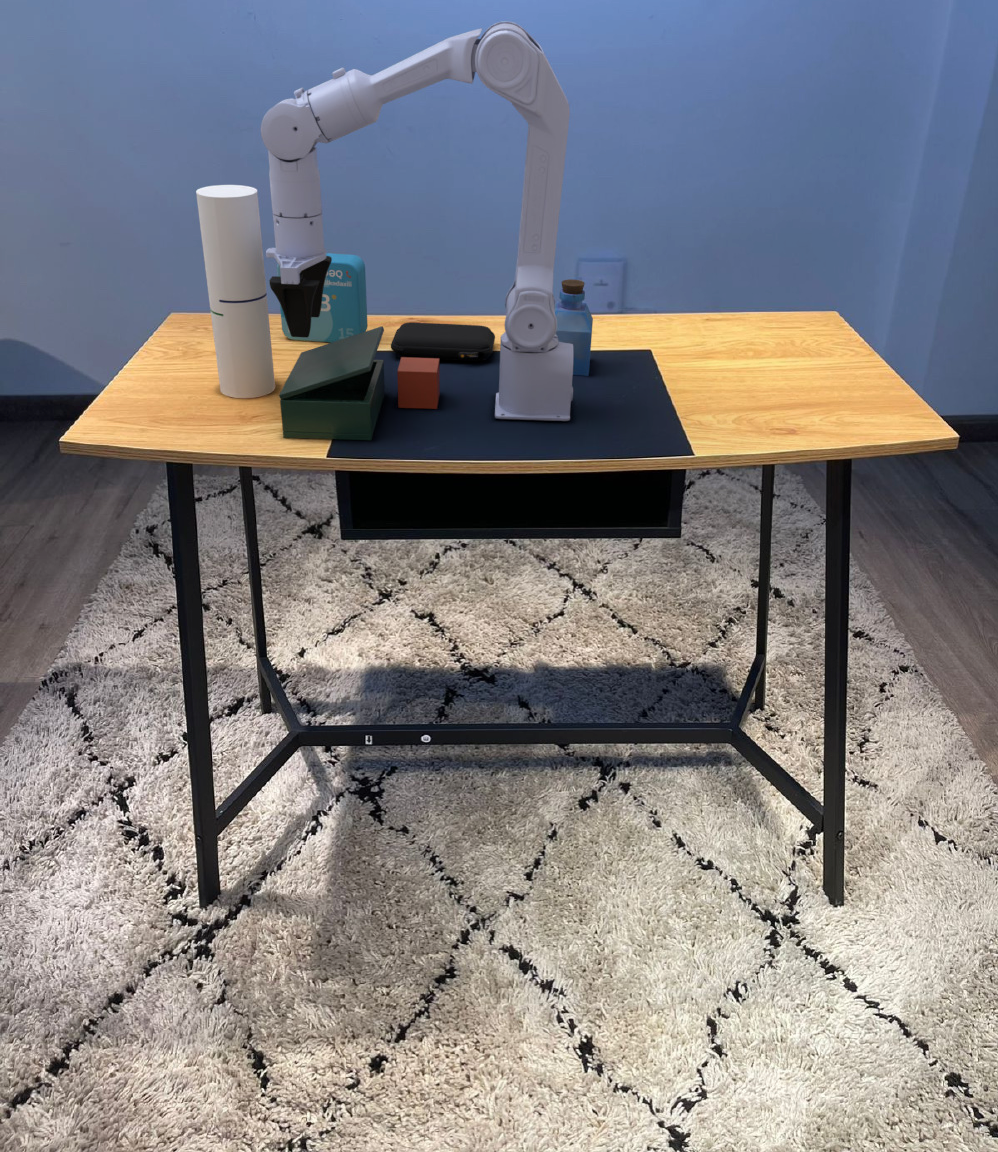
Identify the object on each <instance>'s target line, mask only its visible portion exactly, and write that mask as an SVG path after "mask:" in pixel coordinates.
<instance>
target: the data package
mask: <svg viewBox="0 0 998 1152" xmlns="http://www.w3.org/2000/svg"><path fill="white" fill-rule="evenodd" d="M326 256H330V257H331V258H332V262H331V264H330V266H329V269H328V271H327V275H326V278H325V283H324V288H323V296H322V305H321V311H320V315H319V317H311V328H310V333H309V336H308V337H292V336H291V334H290V331H289V329H288V325H287V322H286V319H285V315H284V312H283V309H282V307H281V305H280V304H279V312H280V321H281V330H282V333H283V335H284V336H285V337H286V338H287V339H289V340H292V341H293V340H294V341H302V342H303V341H305V342H319V343H332V342H335V341H338V340H341V339H344V338H347V337H350V336H353V335H356V334H360V333H363V332H366V331H368V304H367V303H368V302H367V301H368V300H367V279H366V264H365V261H364V260H363V259H362V257H360V256H359V255H356V254H345V253H331V252H330V253H328V252H326ZM276 274H277V275H276V276H277V277H281V273H280V266H279V264H278V263H277V266H276Z"/></svg>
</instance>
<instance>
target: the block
mask: <svg viewBox="0 0 998 1152" xmlns="http://www.w3.org/2000/svg"><path fill="white" fill-rule="evenodd" d="M396 373H397V376H396V377H397V407H398V408H399V409H423V410H424V409H425V410H426V409H427V410H428V409H429V410H438V405H439V399H440V394H441V393H440V392H441V391H440V388H441V387H440V385H441V384H440V380H441V379H440V360H439V359H438V358H408V357H400V360H399V363H398V368H397V371H396Z"/></svg>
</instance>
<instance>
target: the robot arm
mask: <svg viewBox="0 0 998 1152" xmlns="http://www.w3.org/2000/svg"><path fill="white" fill-rule="evenodd" d="M482 31H483V28H477V29H473V30H470V31H467V32H463V33H460V34H457V35H453V36H450V37H447V38H446V39H443V40H441V41H439V42H437V43H436V44H435V43H434V44H433V45H431V46H429V47H427V48H425V49H423V50H421V51H419V52H417V53H414V54H413V55H411V56H409V57H407V58H405V59H403V60H401V61H398V62H397V63H394V64H393V65H391V66H389V67H386V68H383V70H380V71H379V72H377V73H374V74H368V73H365V72H363V71H361V70H360V69H356V68H352V69H350V70H348V71H346V69H345V67H341V68H338V69H336V70H333V72H332V73H331V75H332V78H331V79H329V80H327V81H325V82H322V83H320V84H318V85H315V86H313V87H311V88H309V89H307V90H305V88H304V87H300V88H298V89H296V90H294V91H293V95H294V98H286V99H283V100H280V102H277V103H276V104H275V105H274V106H272V107H270V108H269V109H268V110H267V111H266V112H265V114H264V116H263V118H262V120H261V123H260V136H261V140H262V142H263V145H264V147H265V148H266V149H267V152H268V154H267V155H268V164H269V172H268V177H269V187H270V189H269V190H270V198H271V200H270V201H271V210H272V211H271V212H272V221H273V233H274V234H273V235H274V243H275V247H269V248H267V249H266V251H265V257H266V258H269V259H275V261H276V263H277V265H278V264H279V266H280V273H281V277H277V275H276V276H273V275H272V276H271V278H270V279H269V280H268V282H269V287H270V290H271V291H272V292H273V294H274V295H275V297H276V298H277V300H278V302H279V306H280V305H281V307H282V309H283V312H284V315H285V319H286V322H287V325H288V329H289V331H290V334H291V336H292V337H308V336H309V333H310V328H311V317H319V315H320V311H321V305H322V296H323V288H324V283H325V278H326V275H327V271H328V269H329V266H330V264H331V262H332V258H331V257H330V256H326V253H327V250H326V249H325V238H324V221H323V208H322V207H323V206H322V192H321V189H322V188H321V179H320V178H321V175H320V170H319V166H318V165H319V164H318V151H317V147H316V145H317V144H318V143H322V144H329V143H331V142H334V141H336V140H338V139H341V138H343V137H345V136H347V135H349V134H351V133H354V132H356V131H359V130H360V129H363V128H365V127H367V126H369V125H372V124H374V123H376V122H377V121H378V120H379V116H380V113H381V111H382V107H383V105H385V104H388V103H390V102H393V101H395V100H398V99H400V98H402V97H405V96H407V95H411V94H412V93H414V92H415V93H416V92H417V91H420V90H422V89H425V88H427V87H430V86H432V85H434V84H437V83H439V82H442V81H445V80H452V81H457V82H462V83H467V84H471V85H473V83H474V80H475V76H476V74H477V77H478V78H479V80H480V81H481V83H482V84H483V85H484V87H486V88H487V89H489V90H490V91H491V92H493V93H495V94H496V95H498V96H499V97H501V98H503V99H505V100H507V101H508V102H510V103H511V105H512V106H513V107H514V108H515V110H516V111H517V112H518V113H519V114H520V115H521V117H522V118H523V119H524V120H525V121H526V122H527V124H528V125H527V138H526V148H525V149H526V150H525V159H524V160H525V161H524V172H523V184H522V197H521V208H520V220H519V232H518V243H517V254H516V264H515V272H514V280H513V284H512V285H511V287H510V288H509V290H508V291H507V293H506V295H505V300H504V308H505V313H506V314H505V318H504V332H503V334H501V335H500V341H499V342H500V344H499V345H500V346H499V374H498V375H499V377H498V378H499V379H498V381H499V382H498V392H496V393H495V403H494V408H495V409H494V418H495V419H497V420H519V421H520V420H521V421H549V422H550V421H551V422H552V421H553V422H569V421H570V420H571V404H572V401H573V398H574V387H573V376H574V375H573V344H570V343H563V342H559V341H558V336H557V335H556V330H557V319H556V315H555V309H554V308H555V305H556V304H555V303H556V300H555V296H554V295H555V294H554V293H553V291H554V268H555V260H556V249H557V239H558V231H559V230H558V229H559V222H560V211H561V203H562V202H561V201H562V192H563V181H564V173H565V164H566V153H567V145H568V144H567V143H568V133H569V124H570V115H571V113H570V112H571V110H570V104H569V101H568V98H567V96H566V93H565V92H564V90H563V87H562V86H561V84H560V82H559V80H558V78H557V76H556V74H555V72H554V70H553V68H552V66H551V64H550V61H549V60H548V58H547V56H546V54H545V52H544V50H543V47H542V46H541V45H540V44H539V42H538V41H537V40H536V39H535V38H534V37H533V36H532V35H530V33H529V32H528V31H527V30H526V29H525V28H524V27H522V26H521V25H520V24H518V23H516V22H513V21H507V20H506V21H505V20H504V21H499V22H496V23H493V24H491V25H490V26H489V27H488V28H487V29H486V30H485V31H484V32H483V33H482ZM481 34H482V35H481ZM480 36H481V37H480ZM479 37H480V38H479Z"/></svg>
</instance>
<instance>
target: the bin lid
mask: <svg viewBox="0 0 998 1152" xmlns="http://www.w3.org/2000/svg"><path fill="white" fill-rule="evenodd" d="M384 332H385V329H384V326H378V327H375V328H372V329H369V330H366V332H363V333H360V334H356V335H353V336H350V337H347V338H344V339H341V340H338V341H335V342H332V343H330V342H328V343H326V344H323V345H320V346H317V347H313V348H311V349H307V350H305V351H301V352H300V354H299V355H298V358H297V360H296V361H295V363H294V366H293V367H292V369H291V371H290V373H289V375H288V377H287V379H286V381H285V382H284V384H283V387H282V388H281V390H280V392H279V394H278V397H279V399H280V400H281V399H284V398H287V397H290V396H294V395H297V394H300V393H303V392H306V391H309V390H312V389H315V388H319V387H322V386H325V385H328V384H331V383H334V382H337V381H341V380H344V379H347V378H350V377H353V376H356V375H359V374H362V373H366V372H369V371H370V370H371V367H372V364H373V361H374V360H375V358H376V355H377V352H378V349H379V346H380V344H381V341H382V337H383V335H384Z"/></svg>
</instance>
